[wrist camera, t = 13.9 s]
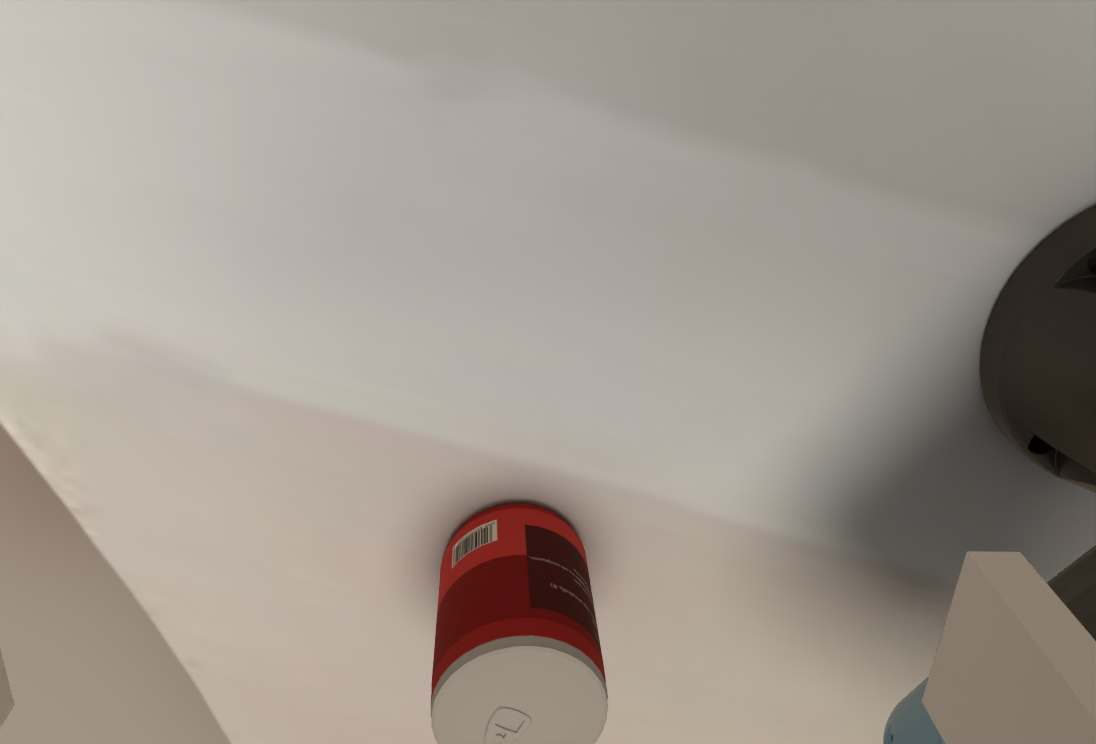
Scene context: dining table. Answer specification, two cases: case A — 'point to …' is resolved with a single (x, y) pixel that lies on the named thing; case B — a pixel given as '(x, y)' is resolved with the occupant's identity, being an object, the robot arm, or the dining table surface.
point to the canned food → (516, 634)
